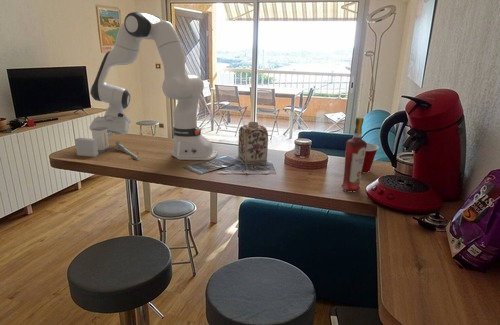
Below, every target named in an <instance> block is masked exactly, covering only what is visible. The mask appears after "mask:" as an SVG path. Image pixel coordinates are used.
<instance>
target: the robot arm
mask: <svg viewBox="0 0 500 325" xmlns="http://www.w3.org/2000/svg"><path fill="white" fill-rule="evenodd" d="M144 39H145V40H153V41H154V43H155V45H156V48H157V50H158V53H159V56H160V58H161V62H162V65H163V71H164V72H163V73H164V80H163V82H162V85H161V86H162V87H161V88H162V92H163V94H164V96H166V97H167V99H171V100H177V103H176V106H175V107H174V109H173V111H172V112H173V127H172V129H173V130H172V134H173V135H172V136H173V147H172V148H173V149H172V154H171V156H173V157H174V158H176V159H177V160H178V161H179V160H182V161H183V160H184V161H185V160H186V161H211V160H213V159H215V158H216V157H217V156H218V151H217V150H214V149H213V144H212V142H211V141H210V140H209V139H207V138H206V137H205V136H203V135H202V127H201V128H200V127H198V125H197V124H198V121H197V120H198V114H197V113H198V106H199V100H200V97H201V94H202V93H203V90H204V88H205V85H204V84H205V83H204V81H203V79H202V78H201V77H200V76H198V75H196V74H193V73H188V74H187V73H186V62H187V56H186V54H185V50H184V48H183V45H182V42H181V40H180V37H179V35H178V33H177V31H176V29H175V26H174V25H173V24H172V23H171V22H170V21H167V20H163V19H162V18H160V17H159V16H156V15H152V14H149V13H145V12H138V11H132V12H130V13H127V15H126V16H125V17H124V22H123V23H121V24H120V26H119V28H118V31H117V35H116V38H115V42H114V46H113V47H112V50H109V51H107V52H106V53H105V55H104V57H103V59H102V61H101V63H100V66H99V68H98V71H97V74H96V76H95V79H94V82H93V84H92V85H91V87H90V96H91V97H92V99H93V100H95V101H98V102H103V103H106V104H108V107H107V108H106V111H105V113H104V115H103V116H101V115H100V116H96V117H94V118H93V119H92V122H91V123H90V125H89V130H90V131H91V132H92V129H93V128H96V127H106V128H107V133H108V140H109V139H110V138H111V137H112V136H113V135H124V136H125V135H127V134H128V133H129V130H130V124H131V120H130V118H129V116H127V115H126V114H125V111H126V110H127V108H128V107H129V104H130V102H131V94H130V92H129V91H128V90H127V88H124V87H121V86H117V85H114V84H111V83H108V82H106V80H107V76H108V74H109V72H110V69H111V67H114V66H126V65H130V64H133V63H134V62H136V60H137V59H138V55H139V51H140V46H141V42H142V41H143V40H144Z"/></svg>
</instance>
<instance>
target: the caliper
mask: <svg viewBox="0 0 500 325" xmlns="http://www.w3.org/2000/svg"><path fill="white" fill-rule="evenodd" d="M115 149H116V150H118V151H120V152H122V153H126V154H127V155H129V156H130V158H133V159H134V160H136V161H140V160H141V159H140V157H139V156H138V155H136V154H135V153H133V152H132V151H130V150H129V149H127V148H126V146H125V145H123V144H122V143H121V142H120V140H116V142H115Z"/></svg>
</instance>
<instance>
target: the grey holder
mask: <svg viewBox="0 0 500 325" xmlns="http://www.w3.org/2000/svg"><path fill="white" fill-rule="evenodd" d="M74 141H75V148H76V149H75V150H76V155H77V156H81V157H82V156H83V157H94V158H95V157H98V156H99V155H100V154H102V153H104V152H106V151H108V150H110V149H112V148H114V147H115V145H111V146H109V148H107V149H104V150H98V147H97V139H93V138H88V137H78V138H77V137H76V138H75V139H74Z"/></svg>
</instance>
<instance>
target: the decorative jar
mask: <svg viewBox="0 0 500 325" xmlns="http://www.w3.org/2000/svg"><path fill="white" fill-rule="evenodd" d="M268 145H269V133H268V129H267V127H266V126H264V125H261V124H259V122H258V121H249V122H248V124H243V125H241V126H240V128H239V129H238V144H237V148H238V149H237V150H238V157H240V158H241V159H242V160H243V162H245V163H247V162H248V163H251V162H262V161H263V162H264V161H267V159H268V148H269V147H268Z"/></svg>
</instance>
